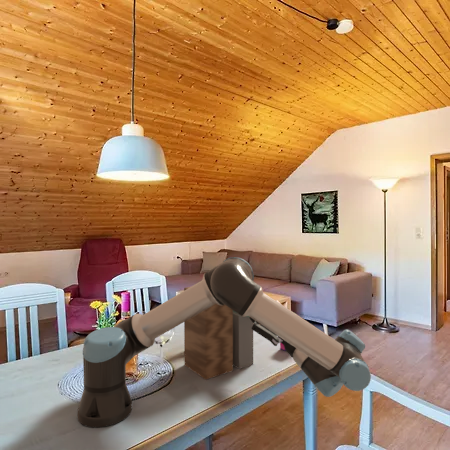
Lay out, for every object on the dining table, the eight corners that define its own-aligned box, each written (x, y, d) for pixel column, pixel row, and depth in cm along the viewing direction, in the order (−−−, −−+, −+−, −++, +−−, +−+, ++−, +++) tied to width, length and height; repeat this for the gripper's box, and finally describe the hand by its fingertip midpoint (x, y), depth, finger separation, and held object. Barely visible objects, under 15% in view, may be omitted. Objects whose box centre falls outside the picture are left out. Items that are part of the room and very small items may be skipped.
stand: (205, 379, 124) (205, 294, 123) (184, 365, 136) (184, 287, 136) (232, 370, 131) (232, 290, 130) (210, 357, 143) (210, 284, 143)
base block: (239, 368, 133) (239, 315, 132) (220, 358, 143) (220, 309, 142) (253, 364, 137) (253, 312, 137) (234, 354, 147) (234, 306, 146)
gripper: (268, 368, 108) (231, 319, 122) (320, 349, 122) (282, 308, 137) (277, 351, 104) (238, 303, 119) (329, 334, 119) (289, 293, 134)
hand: (261, 305), depth 128 cm, fingers open, 13 cm apart
